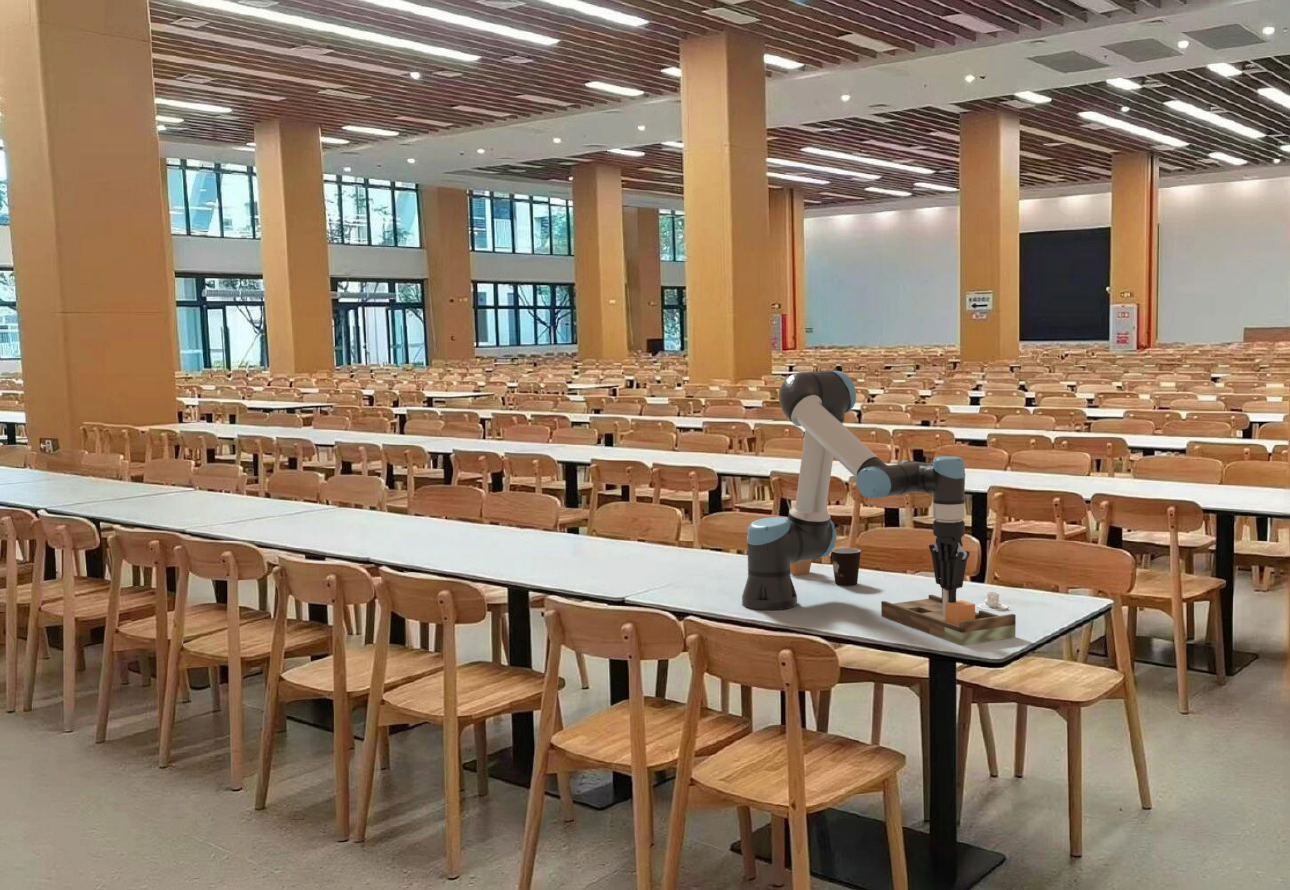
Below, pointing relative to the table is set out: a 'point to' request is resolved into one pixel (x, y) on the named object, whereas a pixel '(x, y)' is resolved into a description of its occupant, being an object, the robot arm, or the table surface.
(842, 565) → the coffee mug
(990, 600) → the teacup and saucer
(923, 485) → the robot arm
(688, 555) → the table surface
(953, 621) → the block
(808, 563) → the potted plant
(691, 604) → the table surface
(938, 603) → the board
